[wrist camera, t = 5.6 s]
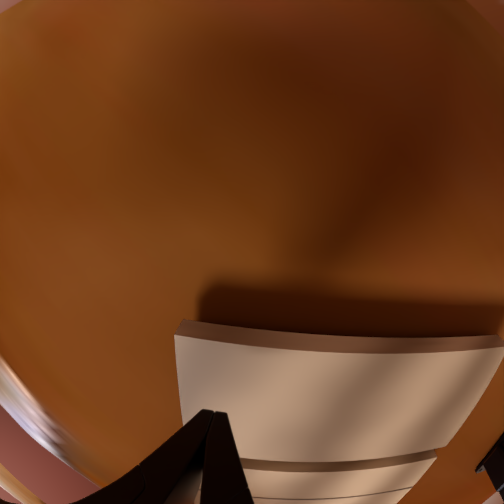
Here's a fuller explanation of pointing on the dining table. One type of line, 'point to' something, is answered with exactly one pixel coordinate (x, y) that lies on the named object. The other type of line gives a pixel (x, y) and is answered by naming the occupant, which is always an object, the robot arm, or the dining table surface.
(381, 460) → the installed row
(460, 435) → the dining table surface
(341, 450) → the plank
